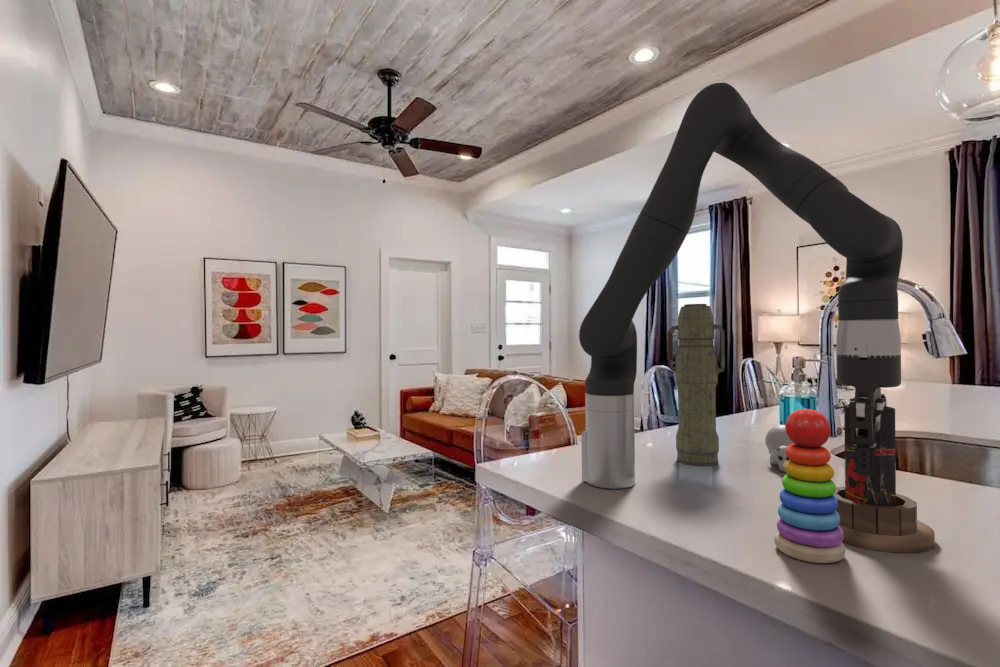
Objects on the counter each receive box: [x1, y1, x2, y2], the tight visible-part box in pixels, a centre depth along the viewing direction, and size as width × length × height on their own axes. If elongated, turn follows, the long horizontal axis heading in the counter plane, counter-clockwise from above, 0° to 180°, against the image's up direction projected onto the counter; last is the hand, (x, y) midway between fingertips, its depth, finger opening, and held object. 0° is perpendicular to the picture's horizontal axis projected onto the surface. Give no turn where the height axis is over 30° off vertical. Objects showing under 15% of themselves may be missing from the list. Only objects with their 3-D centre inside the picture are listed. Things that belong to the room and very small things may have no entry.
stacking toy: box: [774, 408, 847, 564], centre depth 68 cm, size 8×8×19 cm
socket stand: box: [833, 486, 936, 554], centre depth 74 cm, size 14×14×5 cm
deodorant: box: [843, 404, 897, 507], centre depth 74 cm, size 6×6×15 cm
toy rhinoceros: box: [764, 424, 795, 474], centre depth 110 cm, size 7×12×8 cm, turn 151°
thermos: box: [667, 303, 726, 467], centre depth 116 cm, size 9×12×35 cm
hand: (868, 469), depth 74 cm, fingers closed on deodorant, 6 cm apart
